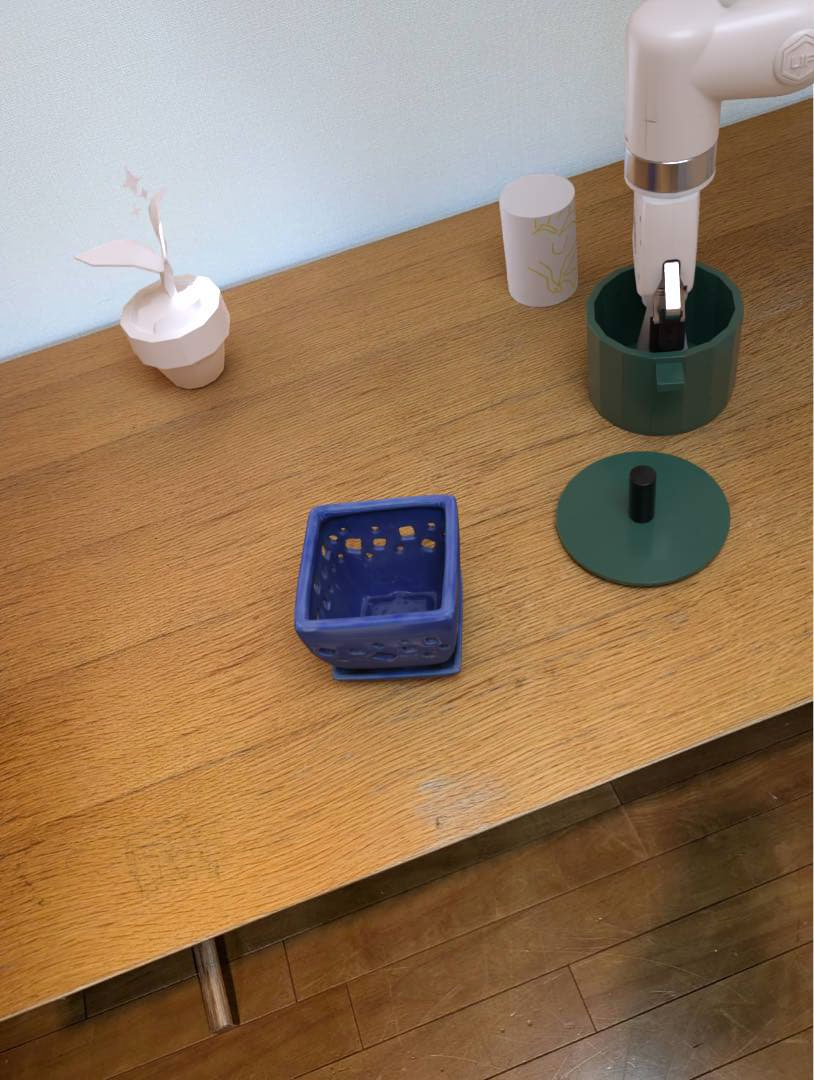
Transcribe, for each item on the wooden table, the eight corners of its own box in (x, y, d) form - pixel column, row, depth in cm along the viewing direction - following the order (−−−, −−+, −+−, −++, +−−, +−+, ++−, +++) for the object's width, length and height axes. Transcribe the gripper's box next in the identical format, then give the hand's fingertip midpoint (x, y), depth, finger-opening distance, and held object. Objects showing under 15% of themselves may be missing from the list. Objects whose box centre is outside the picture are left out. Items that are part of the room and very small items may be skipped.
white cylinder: (544, 316, 113) (537, 226, 104) (494, 289, 117) (483, 200, 108) (592, 279, 115) (590, 188, 106) (542, 254, 120) (535, 164, 111)
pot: (721, 316, 108) (729, 235, 100) (744, 452, 96) (756, 372, 88) (585, 326, 111) (583, 248, 103) (591, 460, 99) (589, 383, 91)
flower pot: (335, 580, 95) (304, 501, 86) (473, 570, 93) (457, 488, 84) (324, 703, 87) (289, 631, 78) (474, 695, 85) (457, 620, 76)
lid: (719, 454, 97) (725, 406, 91) (739, 587, 87) (746, 542, 82) (555, 462, 99) (552, 416, 94) (557, 592, 90) (554, 549, 85)
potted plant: (235, 326, 121) (162, 139, 102) (255, 385, 114) (181, 195, 95) (136, 361, 120) (44, 178, 101) (151, 422, 113) (54, 238, 94)
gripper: (619, 107, 89) (619, 267, 103) (630, 224, 79) (628, 385, 92) (705, 97, 88) (694, 261, 101) (728, 215, 77) (712, 379, 91)
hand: (662, 319), depth 97 cm, fingers open, 7 cm apart
